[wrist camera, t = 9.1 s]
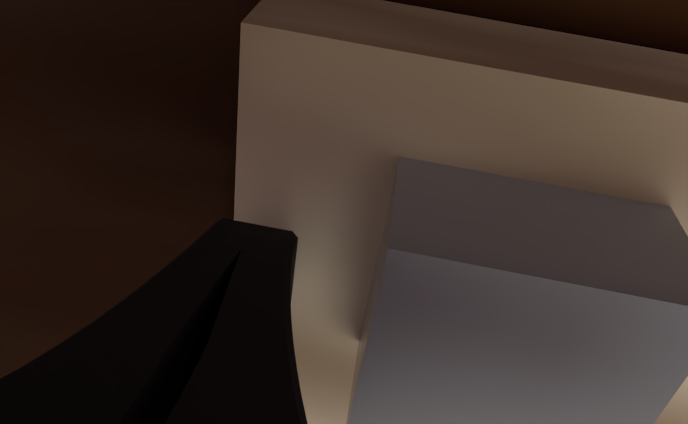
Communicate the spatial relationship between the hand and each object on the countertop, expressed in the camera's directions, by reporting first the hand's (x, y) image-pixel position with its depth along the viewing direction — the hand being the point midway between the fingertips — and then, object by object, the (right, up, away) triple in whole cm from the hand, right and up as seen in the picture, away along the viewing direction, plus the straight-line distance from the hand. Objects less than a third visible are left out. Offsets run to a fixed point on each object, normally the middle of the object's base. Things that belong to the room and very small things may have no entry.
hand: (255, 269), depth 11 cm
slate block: (+4, 0, +1) cm, 4 cm away
